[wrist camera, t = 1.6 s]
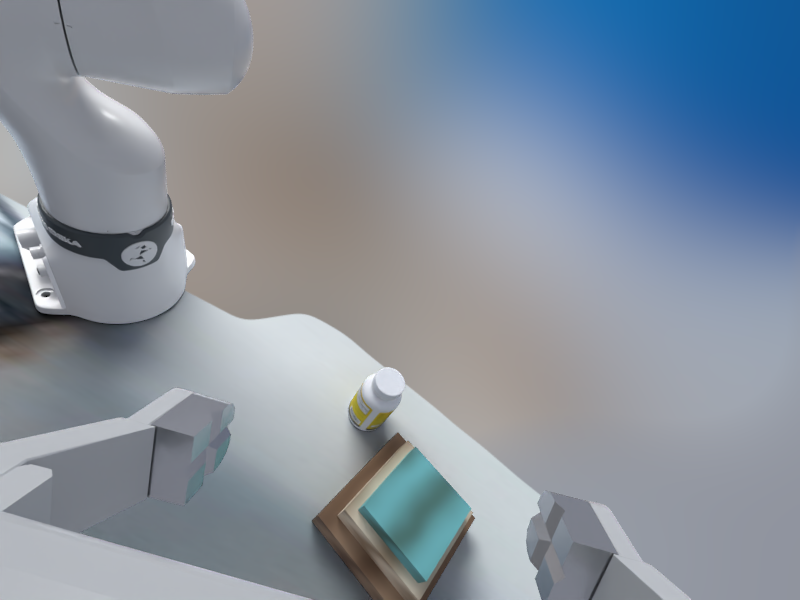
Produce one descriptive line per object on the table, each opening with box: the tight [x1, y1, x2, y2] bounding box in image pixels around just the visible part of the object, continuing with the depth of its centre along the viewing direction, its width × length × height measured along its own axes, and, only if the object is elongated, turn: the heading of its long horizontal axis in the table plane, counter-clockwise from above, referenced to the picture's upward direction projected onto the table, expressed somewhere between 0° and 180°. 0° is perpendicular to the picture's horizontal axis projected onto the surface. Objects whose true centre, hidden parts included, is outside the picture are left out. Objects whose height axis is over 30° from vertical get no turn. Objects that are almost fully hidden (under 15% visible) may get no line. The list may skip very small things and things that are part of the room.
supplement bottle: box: [348, 367, 405, 431], centre depth 49 cm, size 5×5×10 cm
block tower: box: [312, 433, 475, 600], centre depth 43 cm, size 14×14×8 cm
